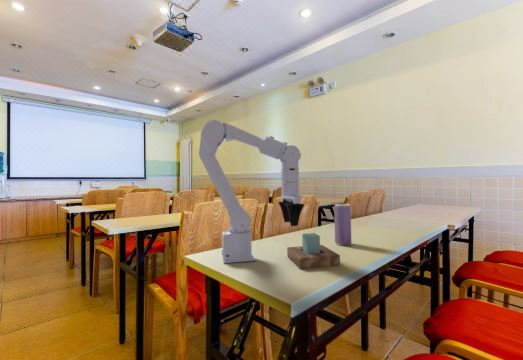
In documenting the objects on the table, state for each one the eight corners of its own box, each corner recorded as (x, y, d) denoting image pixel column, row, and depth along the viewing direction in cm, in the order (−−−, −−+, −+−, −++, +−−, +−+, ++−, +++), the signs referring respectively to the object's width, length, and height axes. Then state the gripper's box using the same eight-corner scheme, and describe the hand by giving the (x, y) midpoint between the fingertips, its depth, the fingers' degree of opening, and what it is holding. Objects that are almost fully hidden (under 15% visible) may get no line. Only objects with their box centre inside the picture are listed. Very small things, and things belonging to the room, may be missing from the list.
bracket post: (307, 263, 76) (307, 236, 76) (302, 259, 80) (302, 233, 80) (320, 262, 76) (319, 235, 76) (314, 258, 80) (314, 233, 80)
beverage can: (348, 246, 93) (347, 205, 93) (332, 244, 97) (331, 204, 97) (353, 243, 98) (352, 204, 98) (338, 241, 102) (337, 203, 102)
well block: (300, 269, 71) (299, 258, 71) (287, 256, 83) (287, 247, 83) (339, 265, 73) (339, 255, 73) (322, 253, 85) (322, 244, 85)
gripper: (309, 182, 78) (310, 227, 78) (295, 182, 92) (295, 219, 92) (287, 182, 77) (287, 228, 77) (275, 182, 91) (276, 220, 91)
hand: (290, 223), depth 84 cm, fingers open, 7 cm apart
